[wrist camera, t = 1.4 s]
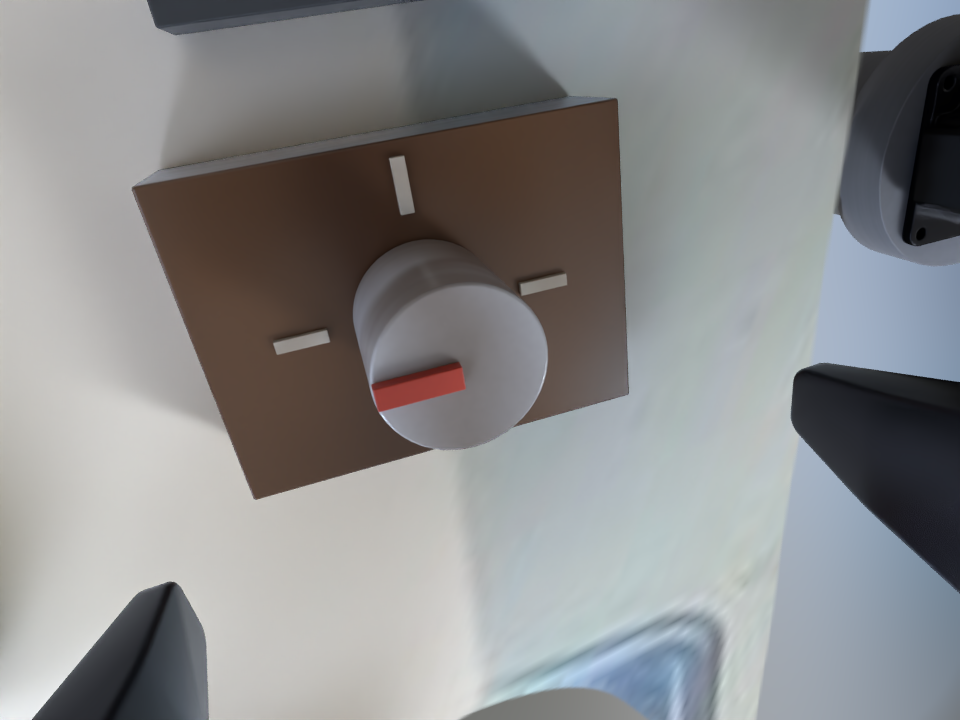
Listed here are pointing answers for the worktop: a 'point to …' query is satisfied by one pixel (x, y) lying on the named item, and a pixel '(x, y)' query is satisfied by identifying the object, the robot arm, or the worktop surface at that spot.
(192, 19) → the housing
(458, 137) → the panel
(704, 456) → the worktop surface
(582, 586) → the worktop surface
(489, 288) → the knob
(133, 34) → the worktop surface
